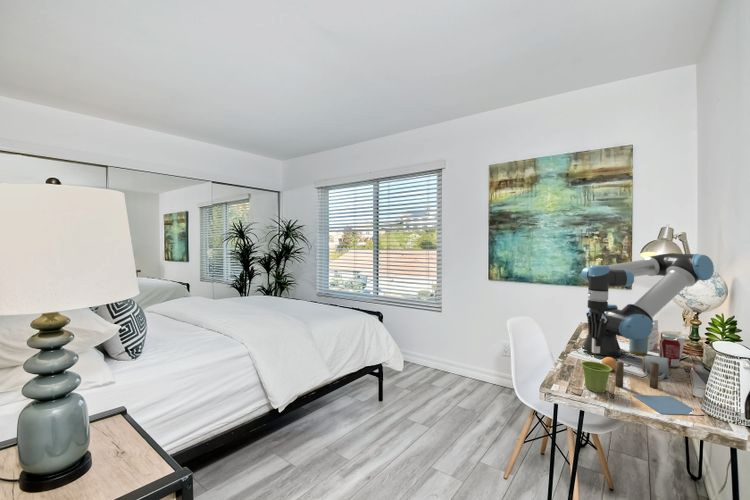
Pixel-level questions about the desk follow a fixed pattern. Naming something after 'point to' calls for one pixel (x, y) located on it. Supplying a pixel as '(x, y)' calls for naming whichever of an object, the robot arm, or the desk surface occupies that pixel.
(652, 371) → the post
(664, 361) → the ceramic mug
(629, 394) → the desk surface
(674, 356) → the red labelled jar
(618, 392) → the desk surface
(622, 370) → the post
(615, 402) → the desk surface
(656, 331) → the ink cartridge box
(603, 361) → the orange round fruit
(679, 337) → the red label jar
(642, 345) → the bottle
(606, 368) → the plant pot
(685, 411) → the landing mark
